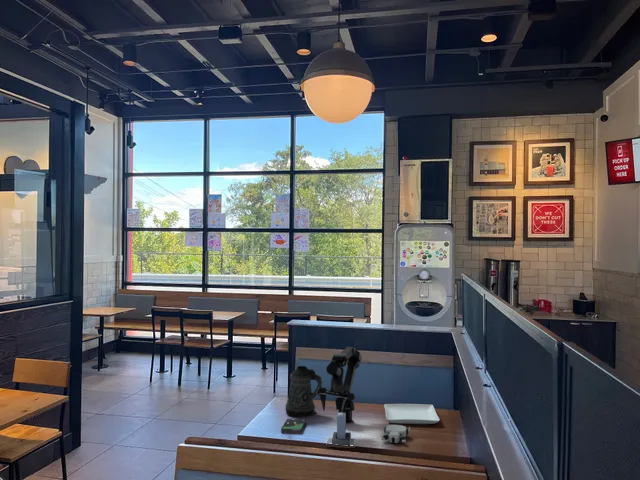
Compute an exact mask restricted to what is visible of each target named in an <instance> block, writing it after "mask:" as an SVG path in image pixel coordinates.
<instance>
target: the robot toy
mask: <svg viewBox="0 0 640 480" xmlns="http://www.w3.org/2000/svg"><path fill="white" fill-rule="evenodd" d="M410 429H411V427H410V426H409V427H408V428H407V427H406V426H404V425H402V424H387V425H386V424H384V425H383V430H382V431H383V433H384V434H383V435H382V437H381V438H380V440H382V441H387V440H388V441H389V443H394V444H397V443H400V442H401V443H406V442H407V441H406V436H408V435H409V434H410Z"/></svg>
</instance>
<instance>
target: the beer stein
mask: <svg viewBox="0 0 640 480" xmlns="http://www.w3.org/2000/svg"><path fill="white" fill-rule="evenodd" d="M289 379H290V384H289V391H288V397H287V401H286V404H285V405H284V407H285V413H286V415H287V416H290V417H296V418H303V417H310V416H312V415H313V414H314V413H315V411H316V410H315V409H316V405H315V402H314V399H315V397H316V396H318V394H316V389H317V388H319V387H322V386H323V381H322V377H321V376H320V375H319V374H316V372H315V370H314V369H311V368H310V369H309V368H308V367H307V366H305V365H301V366H300V365H299V366H296V369H295V370H293V371H292V372H291V373H290V374H289ZM311 381H316V382H317V386H316V388H315V390H312V384H311ZM322 388H323V387H322Z"/></svg>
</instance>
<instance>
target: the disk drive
mask: <svg viewBox="0 0 640 480" xmlns="http://www.w3.org/2000/svg"><path fill="white" fill-rule="evenodd" d="M306 425H307V419H306V418H305V419H303V418H302V419H301V418H295V419H293V418H286V420H285V421H284V422H283V425H282V427H281V429H280V434H295V435H296V434H298V435H301V434H302V433H303V432H304V430H305V427H306Z"/></svg>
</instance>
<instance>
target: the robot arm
mask: <svg viewBox="0 0 640 480" xmlns="http://www.w3.org/2000/svg"><path fill="white" fill-rule="evenodd" d="M362 358H363V357H362V354H361V352H360V351H359V350H357V349H356V348H355V347H354V346H345V348H344V349H343V350H342V351H341V352H339V353H334V354H333V355H332V357H331V359H330V361H329V364H328V365H327V367H326V372H327V374H328V375H330V376H331V381H330V387H329V388H330V389H329V390H328V389H327V388H325V387H319V388H317V387H316V388H317V389H316V388H315V390H316V394H317V397H319V399H320V401H321V405H322V410H323V411H325V410H326V398H327V395H329V396H333V397H334V396H335V397H336V398H335V407H336V410H337V411H338V412H339V413H346V424H351V423H354V422H355V421H354V420H353V411H355V403H354V400H355V398H356V396H355V395H356V394H355V393H353V392H352V389H353V383H354V379H355V375H356V370H357V369H358V368H359V367H360V365H361V363H362V361H363V360H362ZM346 366H347V368H346V373H345V369H344V368H345V367H346ZM344 374H345V376H344Z"/></svg>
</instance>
